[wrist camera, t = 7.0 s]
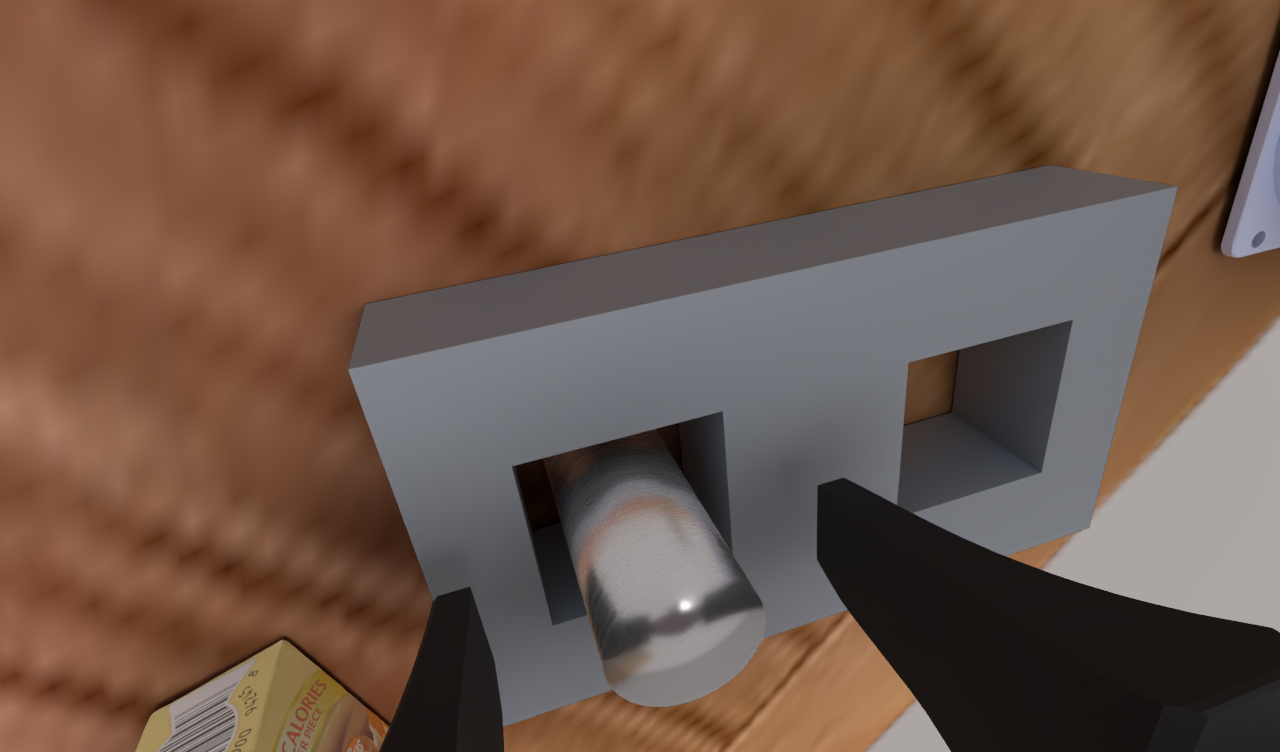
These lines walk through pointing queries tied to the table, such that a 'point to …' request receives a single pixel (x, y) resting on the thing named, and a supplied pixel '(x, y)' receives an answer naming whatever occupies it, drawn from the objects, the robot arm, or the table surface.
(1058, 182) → the hole block
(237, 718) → the candy box
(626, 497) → the metal peg
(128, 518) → the table surface
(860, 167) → the table surface
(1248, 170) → the robot arm
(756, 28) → the table surface
